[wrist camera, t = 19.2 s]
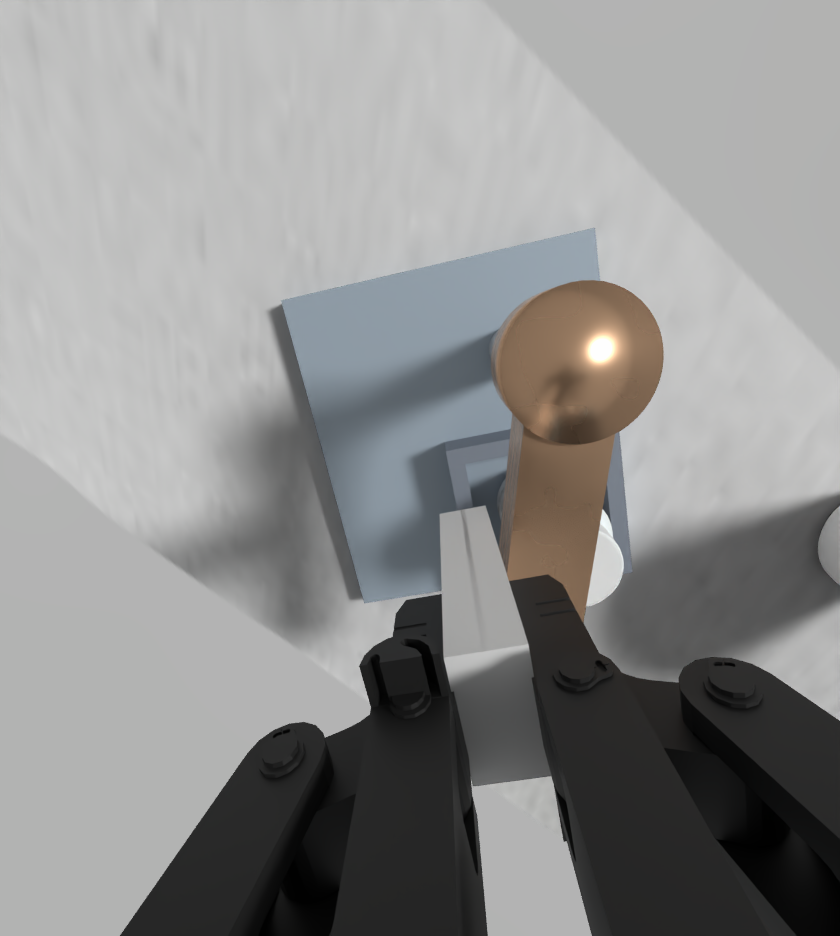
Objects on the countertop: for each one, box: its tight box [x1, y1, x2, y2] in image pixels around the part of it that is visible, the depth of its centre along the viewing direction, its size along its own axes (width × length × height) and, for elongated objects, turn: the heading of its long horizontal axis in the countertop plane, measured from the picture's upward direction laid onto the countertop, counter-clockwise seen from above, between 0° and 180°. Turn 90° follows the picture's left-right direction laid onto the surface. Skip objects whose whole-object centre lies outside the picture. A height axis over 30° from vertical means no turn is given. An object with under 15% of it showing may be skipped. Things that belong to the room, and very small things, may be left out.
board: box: [281, 228, 632, 603], centre depth 20 cm, size 17×15×10 cm
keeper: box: [491, 280, 663, 622], centre depth 14 cm, size 14×4×2 cm, turn 177°
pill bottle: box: [497, 478, 624, 607], centre depth 21 cm, size 4×4×8 cm
